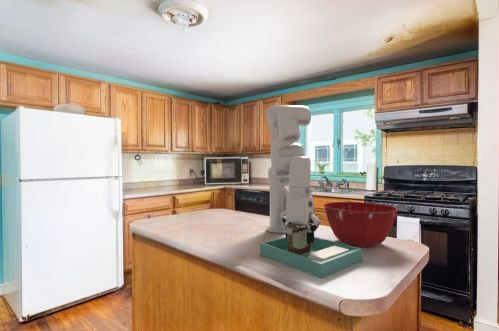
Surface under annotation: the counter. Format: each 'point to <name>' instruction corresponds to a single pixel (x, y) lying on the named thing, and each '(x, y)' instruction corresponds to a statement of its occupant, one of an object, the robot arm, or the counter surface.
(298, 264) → the tray
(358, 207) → the mixing bowl
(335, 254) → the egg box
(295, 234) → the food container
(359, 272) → the counter surface
